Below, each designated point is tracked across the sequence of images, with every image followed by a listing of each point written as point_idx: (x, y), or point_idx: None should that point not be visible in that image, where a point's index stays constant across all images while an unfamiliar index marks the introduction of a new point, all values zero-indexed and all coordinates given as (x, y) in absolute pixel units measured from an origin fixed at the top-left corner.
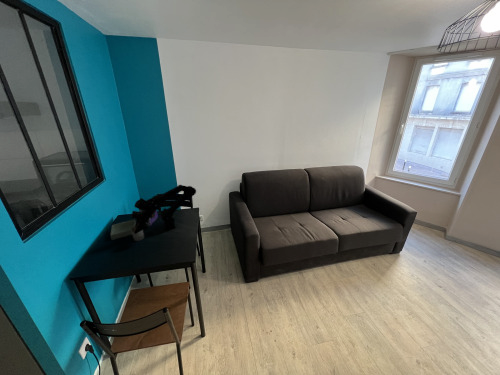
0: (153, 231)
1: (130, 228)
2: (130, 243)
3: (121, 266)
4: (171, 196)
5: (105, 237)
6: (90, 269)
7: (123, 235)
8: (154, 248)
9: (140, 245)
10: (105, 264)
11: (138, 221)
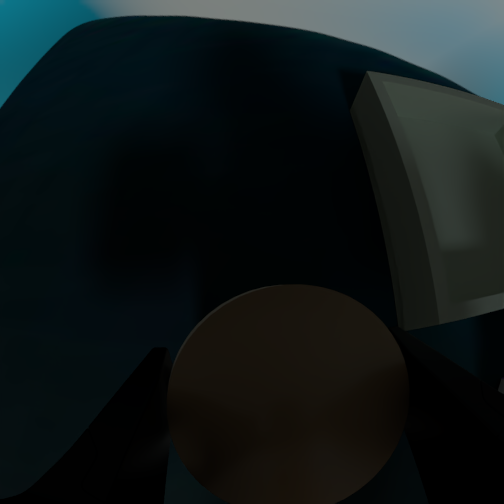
0: None
1: (492, 252)
2: (190, 277)
3: None
4: None
5: None
6: (46, 73)
7: (383, 189)
8: (4, 481)
9: (88, 388)
10: (22, 129)
11: (488, 468)
